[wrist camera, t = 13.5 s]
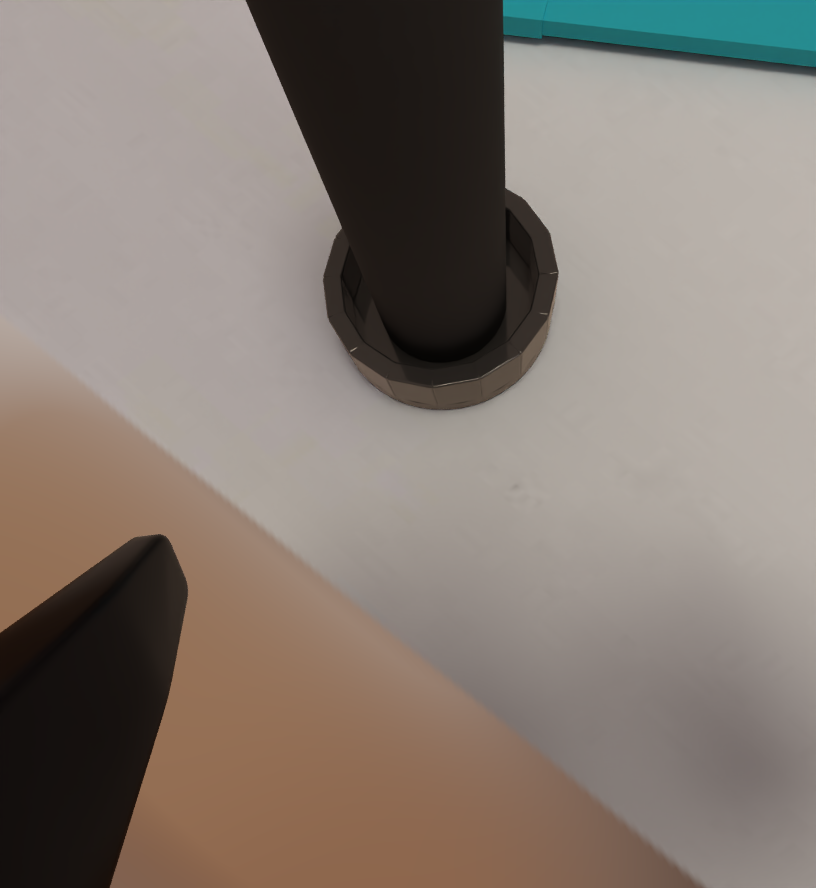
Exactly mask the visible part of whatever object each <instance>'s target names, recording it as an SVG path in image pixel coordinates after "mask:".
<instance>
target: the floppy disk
mask: <svg viewBox="0 0 816 888" xmlns="http://www.w3.org/2000/svg"><path fill="white" fill-rule="evenodd" d="M503 34H505V35H513V36H522V37H530V38H539V39H541V38H542V35H545V36H553V37H562V38H570V39H579V40H588V41H596V42H605V43H613V44H622V45H630V46H639V47H648V48H656V49H665V50H673V51H682V52H690V53H699V54H707V55H716V56H725V57H733V58H742V59H750V60H759V61H767V62H776V63H785V64H793V65H802V66H810V67H816V0H503Z"/></svg>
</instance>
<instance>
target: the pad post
mask: <svg viewBox="0 0 816 888" xmlns="http://www.w3.org/2000/svg"><path fill="white" fill-rule="evenodd" d="M246 2H247V5H248V7H249V9H250V12H251V14H252V16H253V19H254V21H255V23H256V26H257V28H258V30H259V33H260V35H261V37H262V40H263V42H264V45H265V47H266V49H267V52H268V54H269V56H270V59H271V61H272V63H273V66H274V68H275V70H276V73H277V75H278V77H279V80H280V82H281V85H282V87H283V89H284V92H285V94H286V96H287V99H288V101H289V103H290V106H291V108H292V110H293V113H294V115H295V117H296V120H297V122H298V125H299V127H300V129H301V132H302V134H303V136H304V139H305V141H306V143H307V146H308V148H309V150H310V153H311V155H312V157H313V160H314V162H315V165H316V167H317V169H318V172H319V174H320V176H321V179H322V181H323V183H324V186H325V188H326V190H327V193H328V195H329V197H330V200H331V202H332V205H333V207H334V209H335V212H336V214H337V216H338V219H339V221H340V223H341V226H342V228H343V230H344V233H345V235H346V237H347V240H348V242H349V245H350V247H351V249H352V252H353V254H354V256H355V259H356V261H357V263H358V266H359V268H360V270H361V273H362V275H363V277H364V280H365V282H366V285H367V287H368V289H369V292H370V294H371V296H372V299H373V301H374V303H375V306H376V308H377V310H378V313H379V315H380V317H381V320H382V322H383V325H384V327H385V329H386V331H387V333H388V335H389V336H390V338H391V339H392V340H393V341H394V343H395V344H396V345H397V346H398V347H400V348H401V349H402V350H403V351H405V352H406V353H408V354H409V355H412V356H414V357H416V358H419V359H422V360H425V361H431V362H450V361H455V360H459V359H462V358H465V357H467V356H470V355H472V354H474V353H475V352H477V351H478V350H480V349H481V348H483V347H484V346H485V345H486V344H487V343H488V342H489V341H490V340H491V339H492V338H493V337H494V335H495V334H496V333H497V331H498V329H499V328H500V326H501V324H502V321H503V318H504V315H505V311H506V216H505V129H504V42H503V0H246Z"/></svg>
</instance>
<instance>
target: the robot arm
mask: <svg viewBox="0 0 816 888" xmlns="http://www.w3.org/2000/svg"><path fill="white" fill-rule="evenodd" d="M187 597H188V587H187V581H186V578H185V576H184V574H183V571H182V569H181V566H180V564H179V562H178V559H177V557H176V555H175V552H174V550H173V547H172V545H171V543H170V541H169V540H168V538H167V537H166V536H164V535H161V534H158V535H149V536H141V537H135V538H133V539H131V540H130V541H128V542H127V543H125V544H124V545H123V546H121V547H120V548H118V549H117V550H116V551H114V552H113V553H111V554H110V555H109V556H107V557H106V558H104V559H103V560H102V561H100V562H99V563H97V564H96V565H95V566H93V567H92V568H90V569H89V570H88V571H86V572H85V573H83V574H82V575H81V576H79V577H78V578H76V579H75V580H74V581H72V582H71V583H70V584H68V585H67V586H65V587H64V588H63V589H61V590H60V591H58V592H57V593H55V594H54V595H53V596H51V597H50V598H49V599H47V600H46V601H44V602H43V603H41V604H40V605H39V606H37V607H36V608H34V609H33V610H32V611H30V612H29V613H27V614H26V615H25V616H23V617H22V618H20V619H19V620H18V621H17V622H15V623H14V624H12V625H11V626H9V627H8V628H7V629H5V630H4V631H2V632H1V633H0V888H110V885H111V881H112V878H113V875H114V871H115V868H116V865H117V862H118V859H119V855H120V852H121V849H122V846H123V843H124V839H125V836H126V833H127V830H128V826H129V823H130V820H131V817H132V814H133V810H134V807H135V804H136V801H137V797H138V794H139V791H140V787H141V784H142V781H143V778H144V775H145V771H146V768H147V765H148V762H149V759H150V755H151V752H152V749H153V746H154V742H155V739H156V736H157V733H158V729H159V726H160V723H161V720H162V716H163V713H164V709H165V706H166V703H167V699H168V695H169V691H170V686H171V682H172V677H173V671H174V666H175V661H176V655H177V650H178V645H179V640H180V634H181V629H182V624H183V618H184V614H185V608H186V603H187Z"/></svg>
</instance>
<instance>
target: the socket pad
mask: <svg viewBox="0 0 816 888" xmlns="http://www.w3.org/2000/svg"><path fill="white" fill-rule="evenodd" d="M505 216H506V311H505V315H504V318H503V321H502V324H501V326H500V328H499V329H498V331H497V333H496V334H495V335H494V337H493V338H492V339H491V340H490V341H489V342H488V343H487V344H486V345H485V346H484V347H483V348H481V349H480V350H478V351H477V352H475V353H474V354H472V355H470V356H467V357H465V358H462V359H459V360H455V361H450V362H431V361H425V360H422V359H419V358H416V357H414V356H412V355H409V354H408V353H406V352H405V351H403V350H402V349H401V348H400V347H398V346H397V345H396V344H395V343H394V341H393V340H392V339H391V338H390V336H389V335H388V333H387V331H386V329H385V327H384V325H383V322H382V320H381V317H380V315H379V313H378V310H377V308H376V306H375V303H374V301H373V299H372V296H371V294H370V292H369V289H368V287H367V285H366V282H365V280H364V277H363V275H362V273H361V270H360V268H359V266H358V263H357V261H356V259H355V256H354V254H353V252H352V249H351V247H350V245H349V242H348V240H347V237H346V235H345V233H344V230H343V228H342V229H341V230H340V232H339V233H338V234H337V235H336V238H335V239H334V242H333V246H332V249H331V252H330V256H329V259H328V262H327V266H326V269H325V272H324V278H323V284H324V292H325V300H326V309H327V317H328V319H329V322H330V324H331V325H332V327H333V329H334V330H335V332H336V334H337V335H338V337H339V339H340V340H341V342H342V344H343V345H344V347H345V348H346V350H347V352H348V353H349V355H350V356H351V358H352V360H353V361H354V363H355V365H356V366H357V368H358V369H359V371H360V373H362V374H363V376H365V377H366V378H367V380H368V381H369V382H370V383H371V384H373V385H374V386H375V387H376V388H378V389H379V390H380V391H381V392H383V393H385V394H386V395H388V396H390V397H392V398H393V399H396V400H398V401H400V402H403V403H405V404H408V405H412V406H416V407H420V408H427V409H445V410H448V409H456V408H463V407H467V406H471V405H476V404H478V403H481V402H483V401H486V400H489V399H491V398H493V397H494V396H496V395H498V394H500V393H502V392H503V391H505V390H506V389H508V388H509V387H510V386H512V385H513V384H514V383H515V382H517V381H518V380H519V379H520V378H521V377H522V376H523V375H524V374H525V373H526V372H527V371H528V369H529V368H530V367H531V366H532V365H533V363H534V362H535V360H536V358H537V357H538V355H539V354H540V352H541V350H542V348H543V345H544V343H545V341H546V338H547V335H548V332H549V328H550V323H551V317H552V312H553V308H554V303H555V297H556V290H557V283H558V273H559V272H558V267H557V263H556V258H555V254H554V249H553V245H552V240H551V235H550V233H549V231H548V229H547V228H546V227H545V226H544V224H543V223H542V222H541V220H540V219H539V218H538V216H537V215H536V214H535V212H534V211H533V210H532V209H531V207H530V206H529V205H528V203H527V202H526V201H525V200H524V199H523V198H522V197H520V196H518V195H516V194H515V193H513V192H511V191H509V190H507V189H506V188H505Z"/></svg>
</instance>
